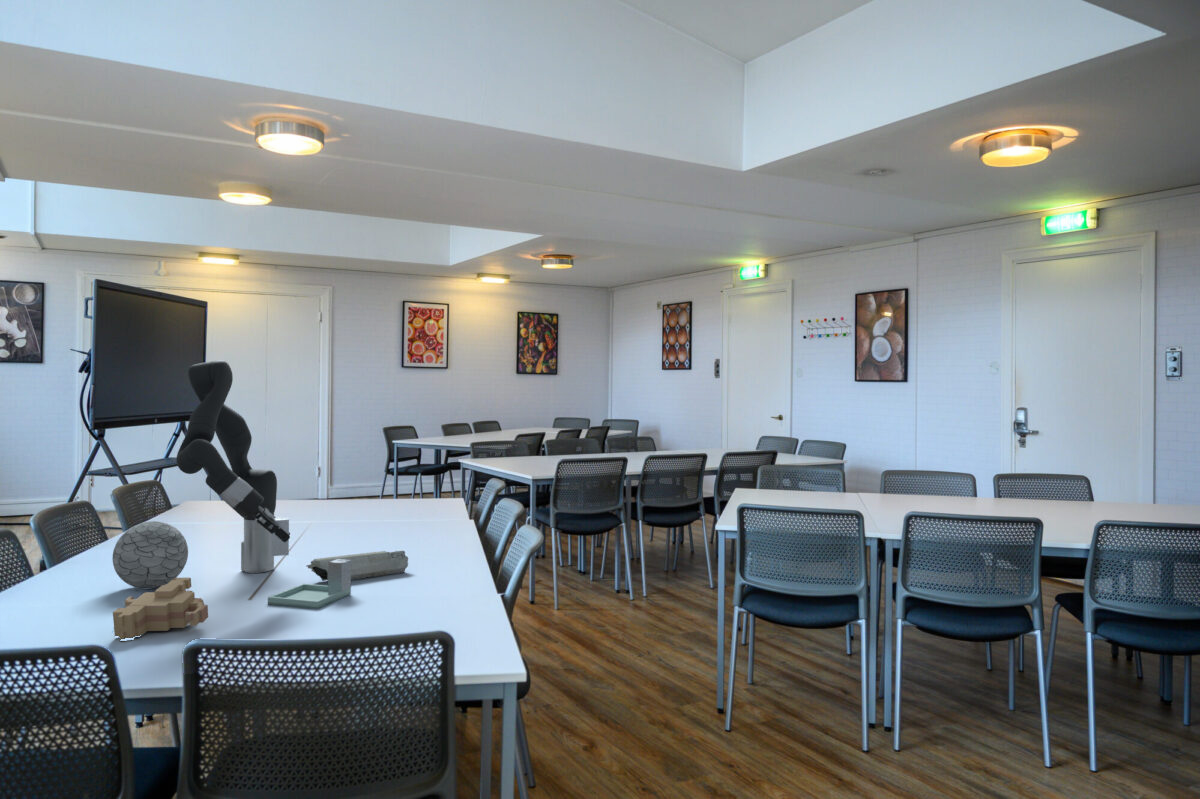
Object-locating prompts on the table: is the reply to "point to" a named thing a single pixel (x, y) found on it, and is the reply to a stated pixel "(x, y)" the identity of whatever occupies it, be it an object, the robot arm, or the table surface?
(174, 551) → the decorative sphere
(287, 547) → the post
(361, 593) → the table surface
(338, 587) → the post
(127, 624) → the toy
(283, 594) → the tray
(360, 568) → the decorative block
